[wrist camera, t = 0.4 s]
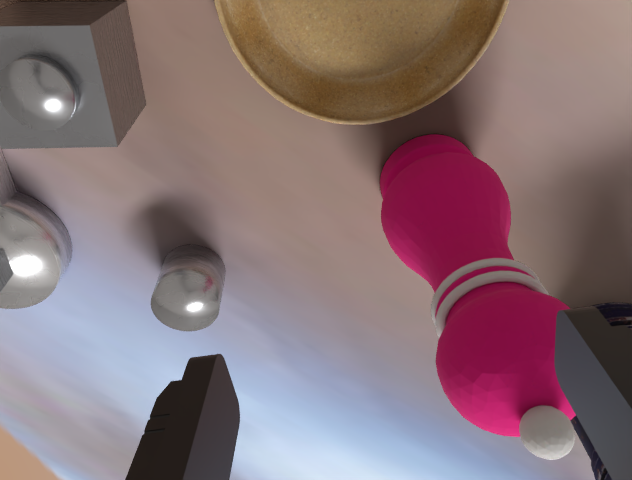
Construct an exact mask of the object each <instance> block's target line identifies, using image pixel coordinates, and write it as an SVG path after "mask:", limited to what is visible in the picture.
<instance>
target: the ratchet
mask: <svg viewBox="0 0 632 480" xmlns="http://www.w3.org/2000/svg"><path fill="white" fill-rule="evenodd" d="M71 257H72V243H71V239H70V236H69V234H68V232H67V230H66V228H65V226H64V225H63V223H62V222H61V221H60V219H59V218H58V217H57V216H56V215H55V214H54V213H53V212H52V211H51V210H50V209H49V208H47V207H46V206H45V205H43V204H42V203H40V202H39V201H37V200H35V199H34V198H32V197H30V196H27V195H25V194H23V193H20V192H17V190H16V188H15V185H14V182H13V179H12V177H11V174H10V171H9V169H8V166H7V163H6V160H5V158H4V155H3V152H2V150H1V147H0V308H4V309H17V308H25V307H29V306H33V305H35V304H38V303H40V302H42V301H43V300H45V299H46V298H47V297H48V296H49V295H50V294H51V293H52V292H53V291H54V289H55V287H56V286H57V284H58V282H59V281H60V279H61V277H62V276H63V274H64V272H65V271H66V269H67V267H68V265H69V263H70V261H71Z"/></svg>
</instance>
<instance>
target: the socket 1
mask: <svg viewBox="0 0 632 480" xmlns="http://www.w3.org/2000/svg"><path fill="white" fill-rule="evenodd" d="M145 106H146V101H145V96H144V91H143V86H142V80H141V75H140V70H139V65H138V59H137V54H136V49H135V43H134V38H133V33H132V28H131V22H130V17H129V12H128V7H127V1H51V2H16V3H14V4H11V5H9V6H6V7H4V8H2V9H0V147H1V149H16V148H72V147H118V145H119V144H120V142H121V141H122V140H123V138H124V137H125V135H126V134H127V132H128V131H129V129H130V128H131V126H132V125H133V123H134V122H135V120H136V119H137V117H138V116H139V115H140V113H141V112H142V110H143V109H144V107H145Z"/></svg>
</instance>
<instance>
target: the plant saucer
mask: <svg viewBox="0 0 632 480" xmlns="http://www.w3.org/2000/svg"><path fill="white" fill-rule="evenodd" d="M214 3H215V6H216V10H217V13H218V17H219V21H220V22H221V25H222V28H223V31H224V33H225V36H226V38H227V40H228V42H229V44H230V46H231V48H232V50H233V52H234V53H235V54H236V56H237V58H238V59H239V61H240V62H241V63H242V65H243V67H244V68H245V69H246V70H247V71H248V72H249V74H250V75H251V76H252V77H253V78H254V79H255V80H256V82H257V83H258V84H259V85H261V86H262V87H263V88H264V89H265V90H266V91H267V92H268V93H270V94H271V95H272V96H274V97H275V98H276V99H277V100H279V101H280V102H282V103H283V104H285V105H286V106H288V107H290V108H292V109H294V110H296V111H298V112H300V113H302V114H305V115H307V116H310V117H313V118H316V119H319V120H323V121H327V122H332V123H338V124H350V125H357V124H361V125H364V124H375V123H381V122H385V121H390V120H394V119H397V118H400V117H403V116H406V115H409V114H411V113H413V112H415V111H417V110H419V109H421V108H423V107H425V106H427V105H429V104H431V103H432V102H434V101H435V100H437V99H439V98H440V97H441V96H443V95H444V94H445V93H447V92H448V91H449V90H451V89H452V88H453V87H454V86H455V85H456V84H457V83H459V82H460V81H461V80H462V79H463V78H464V76H465V75H466V74H467V73H468V72H469V71H470V70H471V69H472V68H473V67H474V65H475V64H476V63H477V61H478V60H479V59H480V58H481V56H482V55H483V53H484V52H485V51H486V49H487V48H488V46H489V44H490V43H491V41H492V39H493V37H494V36H495V34H496V32H497V30H498V27H499V25H500V23H501V21H502V19H503V16H504V14H505V12H506V9H507V6H508V3H509V0H214Z"/></svg>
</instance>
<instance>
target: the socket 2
mask: <svg viewBox="0 0 632 480" xmlns="http://www.w3.org/2000/svg"><path fill="white" fill-rule="evenodd" d="M224 279H225V265H224V263H223V261H222V259H221V258H220V257H219V256H218V255H217V254H216V253H215V252H214V251H212V250H210V249H208V248H206V247H203V246H199V245H184V246H180V247H177V248H175V249H174V250H172V251H171V252H170V253H169V254H168V255H167V256H166V258H165V260H164V263H163V266H162V269H161V272H160V275H159V278H158V280H157V283H156V286H155V289H154V292H153V295H152V298H151V308H152V311H153V313H154V315H155V316H156V318H157V319H158V320H159V321H161V322H162V323H163V324H165V325H166V326H168V327H170V328H173V329H176V330H180V331H196V330H200V329H203V328H206V327H208V326H209V325H211V324H212V323H213V322H214V321H215V319H216V318H217V316H218V313H219V308H220V302H221V297H222V291H223V285H224Z"/></svg>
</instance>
